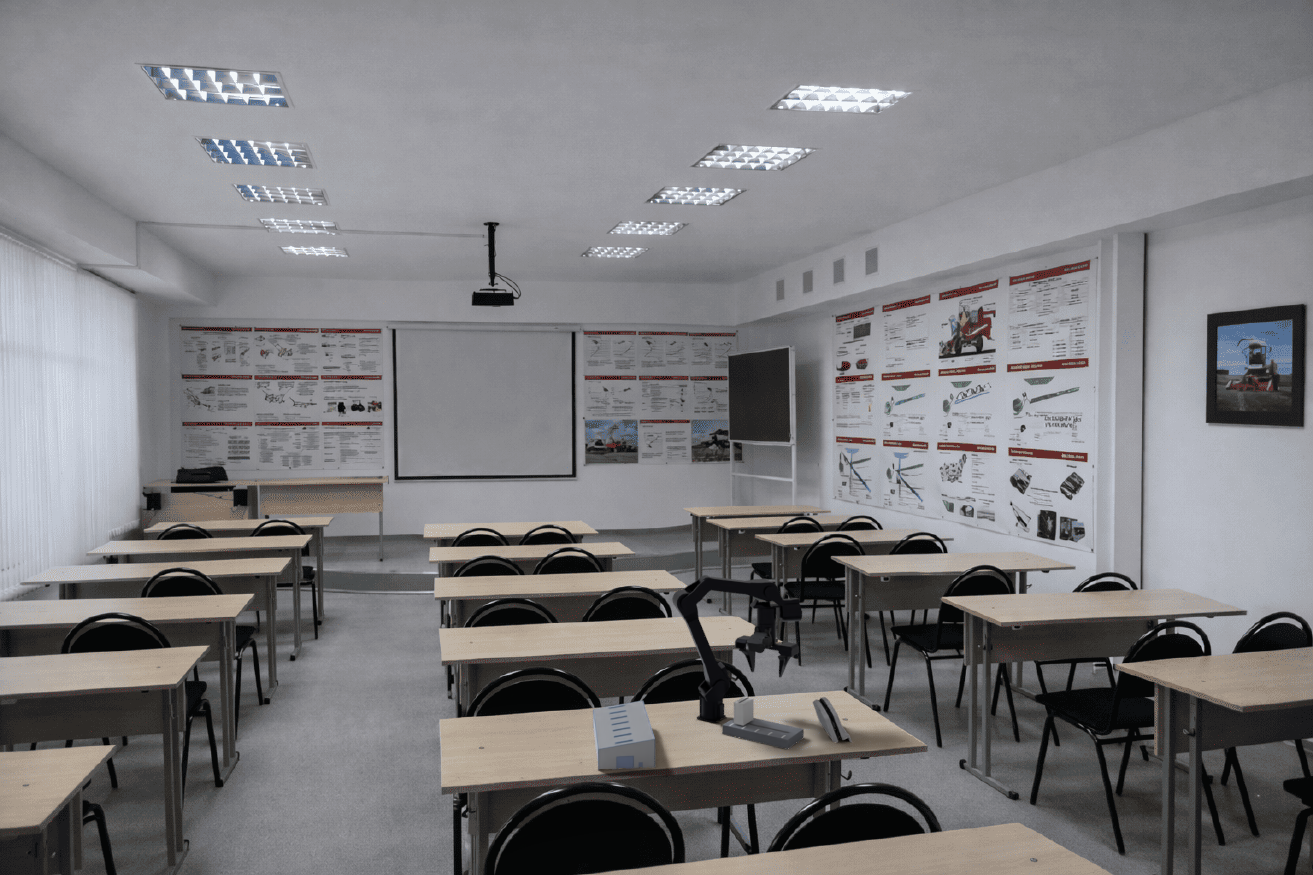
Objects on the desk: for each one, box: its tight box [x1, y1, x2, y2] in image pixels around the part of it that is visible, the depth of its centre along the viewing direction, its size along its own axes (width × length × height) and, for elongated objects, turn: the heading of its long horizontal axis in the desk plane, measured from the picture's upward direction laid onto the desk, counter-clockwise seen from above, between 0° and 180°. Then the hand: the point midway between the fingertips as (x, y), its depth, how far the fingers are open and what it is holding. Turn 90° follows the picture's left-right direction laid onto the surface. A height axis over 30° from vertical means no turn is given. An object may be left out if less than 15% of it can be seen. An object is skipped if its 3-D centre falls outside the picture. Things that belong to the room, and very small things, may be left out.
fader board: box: [721, 717, 805, 750], centre depth 231 cm, size 20×10×3 cm, turn 55°
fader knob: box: [733, 696, 754, 726], centre depth 235 cm, size 3×6×6 cm, turn 145°
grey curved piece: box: [812, 696, 853, 743], centre depth 235 cm, size 17×5×10 cm, turn 3°
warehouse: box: [592, 700, 656, 771], centre depth 224 cm, size 30×14×8 cm, turn 7°
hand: (766, 674), depth 248 cm, fingers open, 9 cm apart
